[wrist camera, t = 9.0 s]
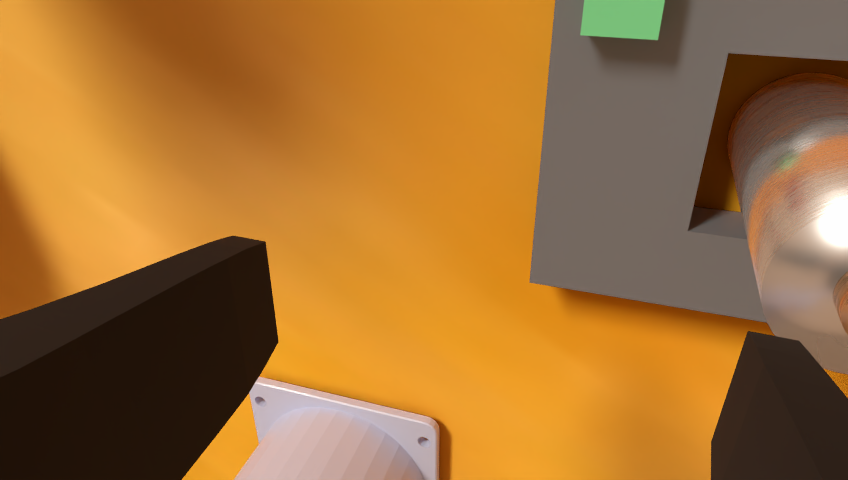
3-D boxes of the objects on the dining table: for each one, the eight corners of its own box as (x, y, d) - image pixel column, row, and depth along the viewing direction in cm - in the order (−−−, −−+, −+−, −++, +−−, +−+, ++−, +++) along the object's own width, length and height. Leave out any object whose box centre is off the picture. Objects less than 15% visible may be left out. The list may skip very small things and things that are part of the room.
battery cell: (857, 203, 16) (981, 418, 10) (717, 192, 17) (747, 381, 11) (896, 74, 14) (1075, 232, 8) (740, 70, 15) (791, 207, 9)
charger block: (1013, 331, 16) (1059, 392, 14) (538, 256, 19) (524, 298, 18) (1236, -62, 12) (1345, -50, 10) (570, -74, 15) (556, -65, 13)
